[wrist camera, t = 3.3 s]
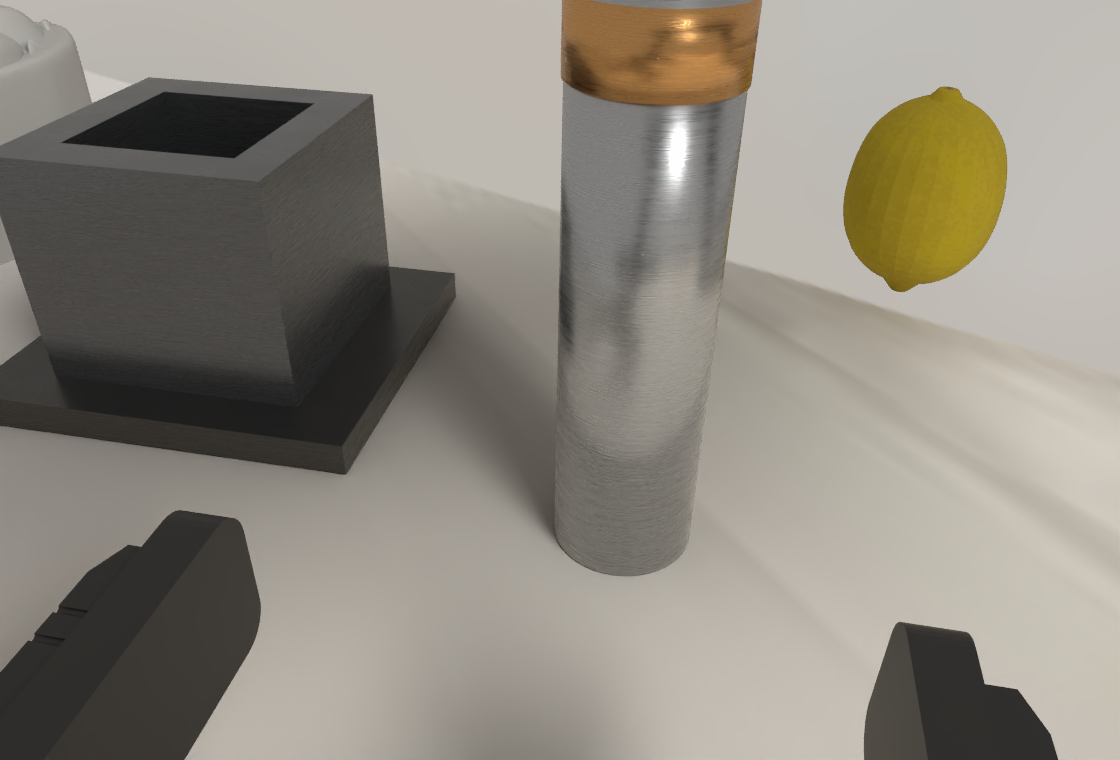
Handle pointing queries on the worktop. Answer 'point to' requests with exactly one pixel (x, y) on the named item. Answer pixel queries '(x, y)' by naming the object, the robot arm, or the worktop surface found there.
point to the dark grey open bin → (211, 274)
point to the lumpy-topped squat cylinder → (35, 81)
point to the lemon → (925, 189)
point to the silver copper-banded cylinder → (642, 263)
